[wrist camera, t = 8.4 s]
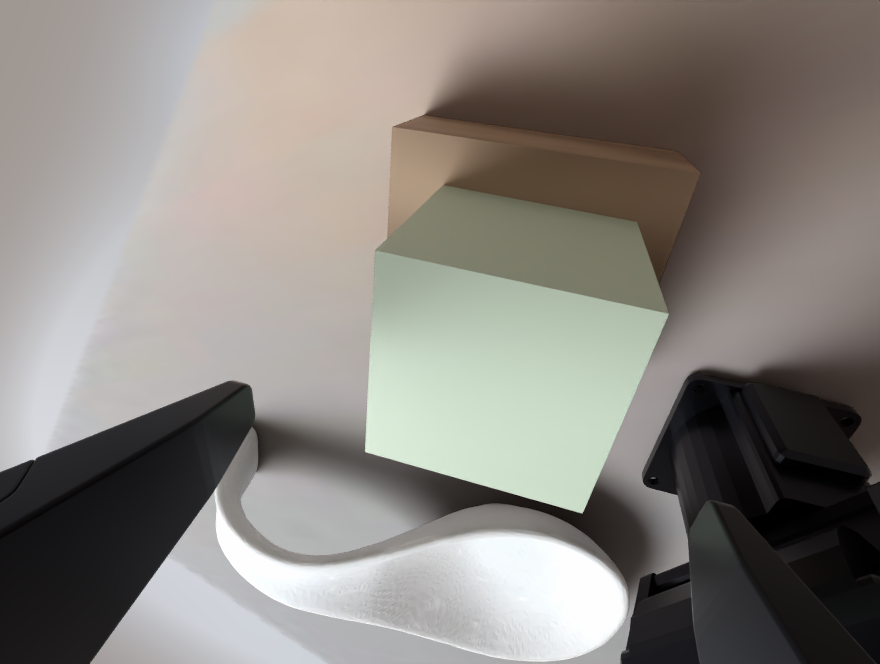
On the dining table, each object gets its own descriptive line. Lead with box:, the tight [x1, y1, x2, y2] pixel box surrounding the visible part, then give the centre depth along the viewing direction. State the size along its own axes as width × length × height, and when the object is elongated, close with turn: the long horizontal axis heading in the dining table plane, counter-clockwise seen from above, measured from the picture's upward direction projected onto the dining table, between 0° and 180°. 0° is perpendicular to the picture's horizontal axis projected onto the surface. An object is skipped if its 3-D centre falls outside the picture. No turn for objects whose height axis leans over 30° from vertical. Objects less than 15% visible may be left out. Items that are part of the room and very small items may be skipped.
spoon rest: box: [215, 427, 630, 662], centre depth 26 cm, size 24×12×7 cm, turn 78°
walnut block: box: [387, 115, 701, 284], centre depth 18 cm, size 9×9×4 cm
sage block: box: [365, 185, 669, 514], centre depth 14 cm, size 6×6×6 cm
